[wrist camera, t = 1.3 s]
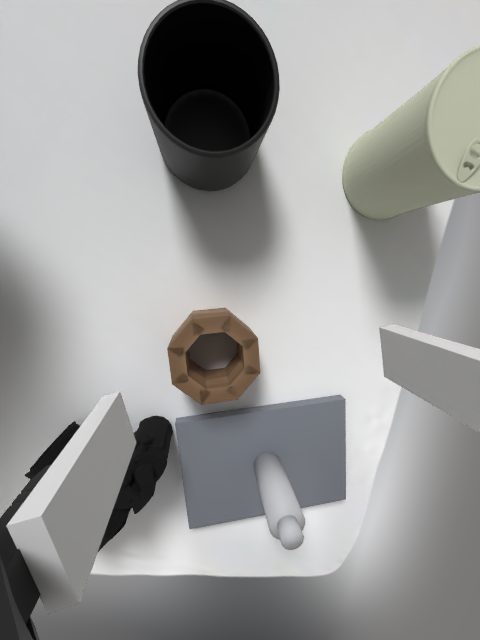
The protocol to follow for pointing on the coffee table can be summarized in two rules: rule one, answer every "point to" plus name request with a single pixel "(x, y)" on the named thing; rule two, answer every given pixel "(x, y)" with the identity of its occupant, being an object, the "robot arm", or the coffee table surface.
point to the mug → (208, 89)
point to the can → (421, 147)
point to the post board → (247, 438)
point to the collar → (218, 381)
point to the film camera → (140, 471)
